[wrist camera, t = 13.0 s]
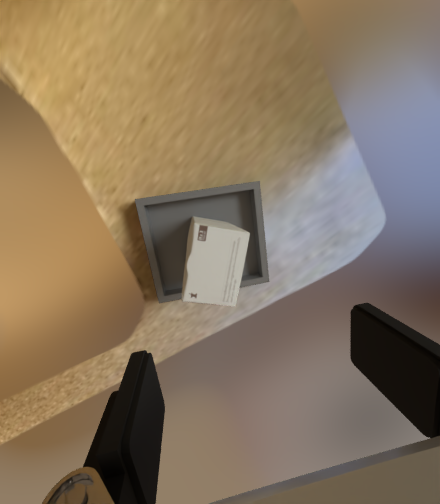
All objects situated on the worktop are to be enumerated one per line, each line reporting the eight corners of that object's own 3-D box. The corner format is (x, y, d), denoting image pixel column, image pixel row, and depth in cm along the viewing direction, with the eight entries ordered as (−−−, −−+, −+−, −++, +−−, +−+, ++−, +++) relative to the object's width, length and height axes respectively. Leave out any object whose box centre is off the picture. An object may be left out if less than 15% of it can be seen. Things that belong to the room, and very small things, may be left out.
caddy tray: (139, 199, 34) (134, 199, 32) (253, 182, 36) (259, 181, 33) (161, 295, 38) (159, 303, 36) (263, 275, 40) (269, 281, 37)
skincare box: (218, 268, 38) (238, 312, 24) (182, 264, 37) (179, 306, 23) (228, 218, 36) (255, 233, 22) (190, 212, 35) (192, 222, 21)
